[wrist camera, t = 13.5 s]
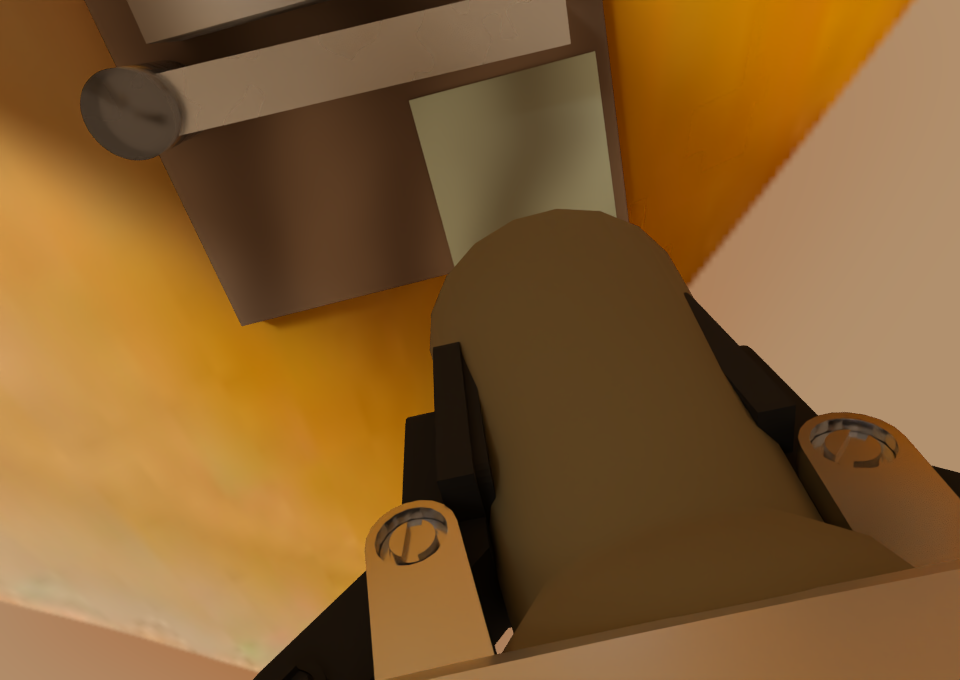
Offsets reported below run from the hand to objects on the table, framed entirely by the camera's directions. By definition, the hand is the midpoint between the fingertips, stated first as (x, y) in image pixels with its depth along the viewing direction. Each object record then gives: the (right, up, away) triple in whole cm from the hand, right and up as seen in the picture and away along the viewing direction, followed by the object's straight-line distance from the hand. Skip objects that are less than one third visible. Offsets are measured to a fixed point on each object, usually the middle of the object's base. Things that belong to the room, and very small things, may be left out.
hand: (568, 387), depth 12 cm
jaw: (-7, +11, +9) cm, 16 cm away
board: (-5, +10, +11) cm, 16 cm away
